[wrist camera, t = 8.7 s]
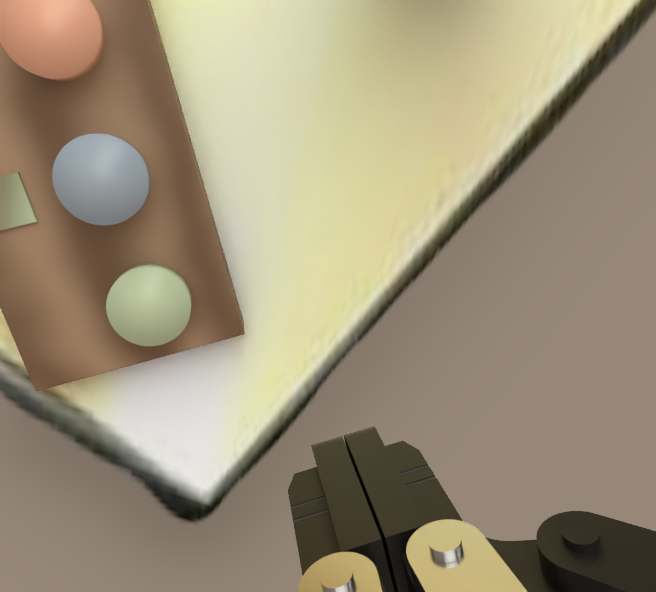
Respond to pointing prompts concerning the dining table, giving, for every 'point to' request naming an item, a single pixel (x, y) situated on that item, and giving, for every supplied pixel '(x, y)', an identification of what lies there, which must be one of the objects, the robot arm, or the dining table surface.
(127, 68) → the console
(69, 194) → the button slate
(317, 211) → the dining table surface
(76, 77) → the button terracotta
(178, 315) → the button sage
